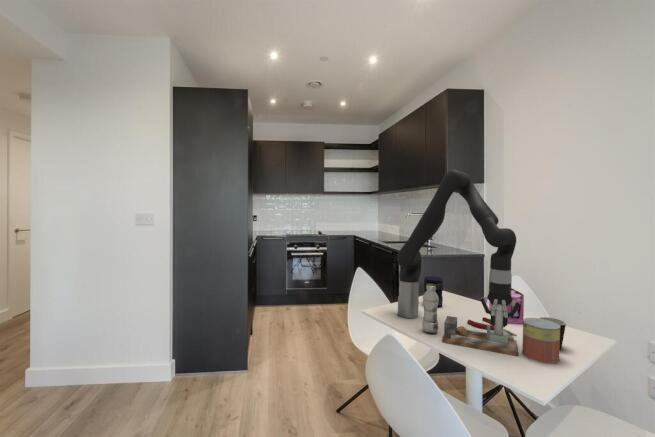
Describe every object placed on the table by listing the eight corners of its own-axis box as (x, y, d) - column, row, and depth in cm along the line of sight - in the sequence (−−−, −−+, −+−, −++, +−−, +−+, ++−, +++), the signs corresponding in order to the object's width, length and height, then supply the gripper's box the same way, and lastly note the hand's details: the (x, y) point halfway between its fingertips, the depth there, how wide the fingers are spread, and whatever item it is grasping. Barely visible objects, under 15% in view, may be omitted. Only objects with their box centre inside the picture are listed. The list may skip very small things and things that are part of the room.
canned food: (528, 346, 125) (529, 315, 125) (563, 357, 117) (564, 323, 116) (517, 355, 118) (518, 322, 117) (554, 366, 109) (555, 331, 109)
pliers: (504, 341, 131) (504, 334, 131) (465, 324, 150) (466, 319, 150) (524, 337, 136) (524, 331, 136) (484, 321, 154) (484, 316, 154)
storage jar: (420, 303, 182) (421, 276, 181) (437, 302, 183) (438, 276, 182) (428, 308, 172) (428, 280, 171) (445, 308, 173) (446, 280, 172)
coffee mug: (566, 353, 120) (566, 326, 119) (538, 348, 124) (538, 322, 124) (563, 342, 129) (564, 317, 129) (537, 337, 134) (538, 313, 134)
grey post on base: (486, 343, 124) (487, 303, 123) (486, 336, 130) (487, 298, 129) (507, 346, 121) (508, 306, 120) (506, 340, 127) (508, 301, 126)
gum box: (525, 325, 148) (526, 295, 148) (506, 324, 150) (507, 295, 149) (504, 309, 172) (505, 283, 172) (488, 308, 173) (489, 283, 173)
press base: (442, 342, 128) (442, 323, 128) (445, 332, 139) (446, 314, 139) (518, 356, 117) (519, 335, 117) (516, 344, 128) (516, 325, 127)
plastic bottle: (430, 336, 135) (431, 287, 134) (418, 330, 141) (419, 284, 140) (441, 333, 138) (442, 286, 137) (429, 328, 144) (430, 282, 143)
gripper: (479, 280, 124) (478, 325, 125) (522, 285, 118) (521, 332, 118) (480, 277, 131) (478, 319, 131) (520, 280, 124) (519, 325, 125)
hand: (498, 325), depth 125 cm, fingers closed on grey post on base, 3 cm apart
